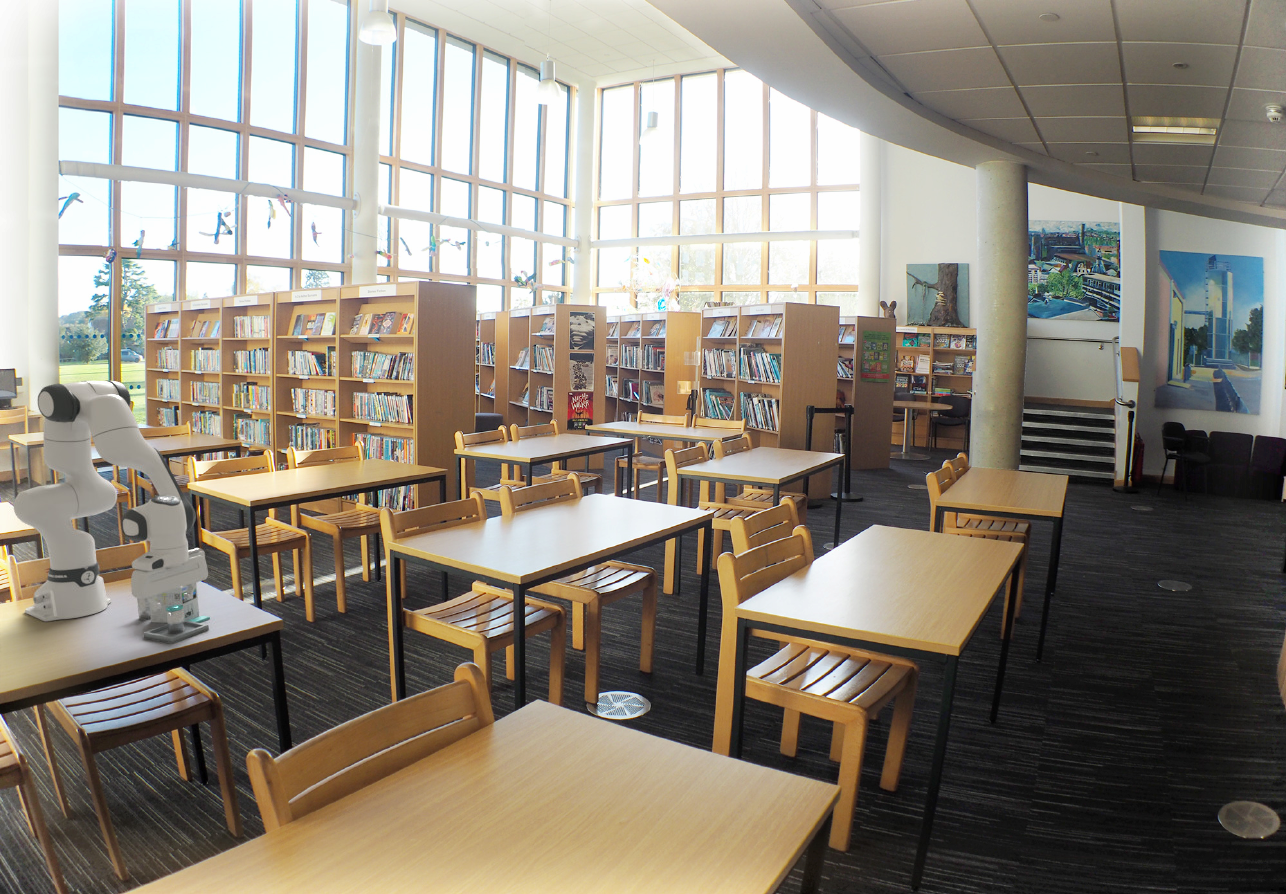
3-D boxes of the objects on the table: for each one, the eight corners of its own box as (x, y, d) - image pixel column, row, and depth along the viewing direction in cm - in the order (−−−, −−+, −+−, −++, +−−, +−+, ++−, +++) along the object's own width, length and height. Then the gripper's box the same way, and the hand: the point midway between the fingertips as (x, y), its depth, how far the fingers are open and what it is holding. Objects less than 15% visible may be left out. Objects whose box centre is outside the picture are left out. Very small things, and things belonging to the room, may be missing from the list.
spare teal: (175, 635, 213) (172, 610, 212) (164, 633, 214) (162, 608, 213) (188, 630, 217) (186, 605, 216) (178, 628, 218) (176, 604, 217)
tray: (143, 638, 212) (143, 632, 212) (180, 624, 223) (180, 619, 222) (172, 643, 208) (171, 638, 208) (208, 629, 218) (208, 624, 218)
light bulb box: (200, 616, 230) (197, 580, 228) (184, 624, 223) (181, 587, 222) (166, 614, 231) (163, 579, 229) (149, 623, 224) (146, 586, 223)
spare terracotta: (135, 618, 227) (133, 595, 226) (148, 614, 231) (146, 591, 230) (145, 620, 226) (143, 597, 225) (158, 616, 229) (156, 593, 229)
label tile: (186, 623, 224) (186, 621, 224) (202, 617, 228) (202, 615, 228) (194, 624, 223) (194, 622, 223) (209, 618, 227) (209, 616, 227)
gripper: (195, 545, 223) (198, 591, 225) (125, 563, 205) (129, 614, 207) (211, 547, 221) (214, 594, 223) (142, 566, 202) (145, 618, 204)
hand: (173, 604), depth 215 cm, fingers open, 8 cm apart
